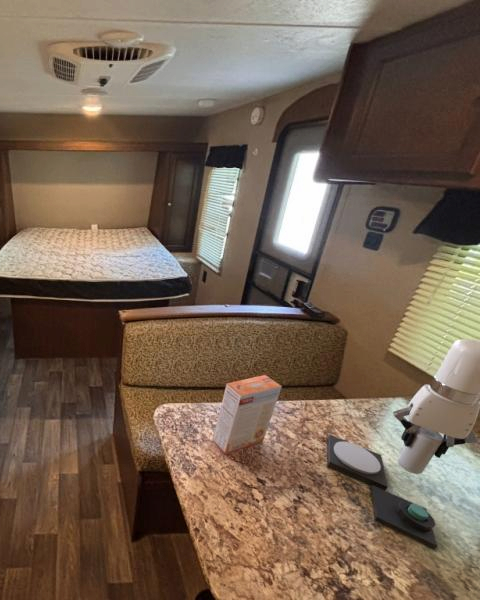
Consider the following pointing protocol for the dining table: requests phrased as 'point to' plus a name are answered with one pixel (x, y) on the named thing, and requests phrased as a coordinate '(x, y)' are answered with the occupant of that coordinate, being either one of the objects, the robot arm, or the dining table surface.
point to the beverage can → (420, 450)
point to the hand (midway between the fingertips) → (420, 447)
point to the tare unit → (401, 517)
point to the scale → (356, 462)
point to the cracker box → (245, 413)
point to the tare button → (417, 512)
